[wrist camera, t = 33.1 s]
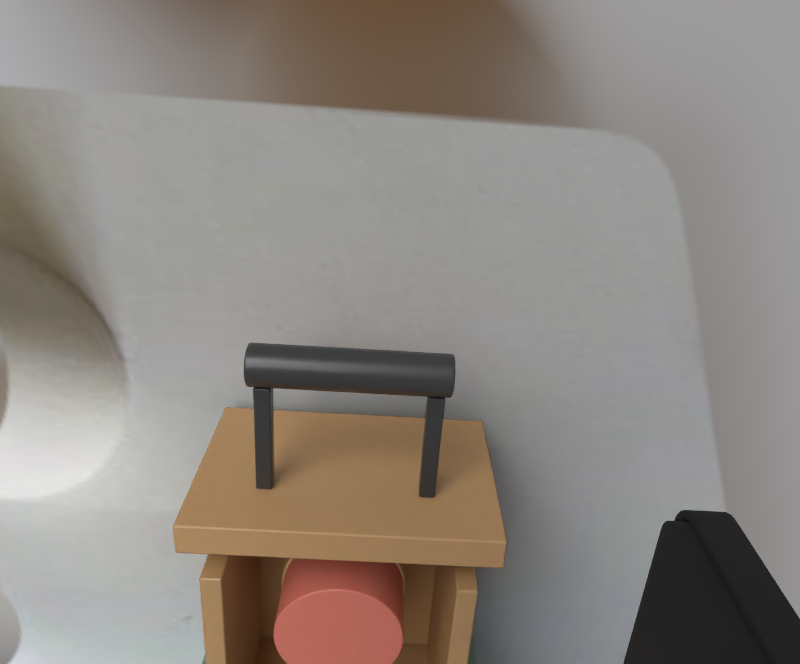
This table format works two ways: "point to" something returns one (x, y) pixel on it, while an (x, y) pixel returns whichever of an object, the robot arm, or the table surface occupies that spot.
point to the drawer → (342, 500)
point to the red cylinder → (340, 612)
